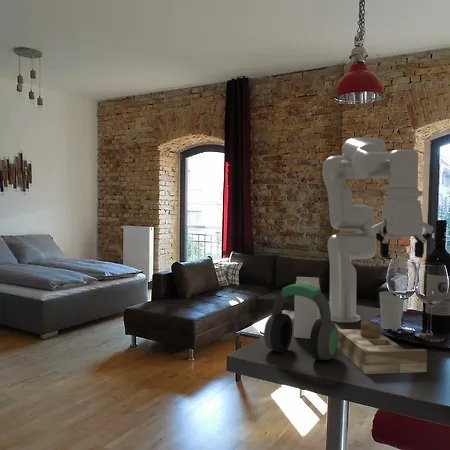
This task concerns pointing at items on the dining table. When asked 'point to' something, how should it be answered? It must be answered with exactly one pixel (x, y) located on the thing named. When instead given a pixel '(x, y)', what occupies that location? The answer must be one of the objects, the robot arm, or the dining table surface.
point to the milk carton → (305, 310)
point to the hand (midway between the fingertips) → (401, 257)
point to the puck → (370, 329)
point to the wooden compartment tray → (380, 354)
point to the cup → (390, 310)
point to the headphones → (282, 325)
